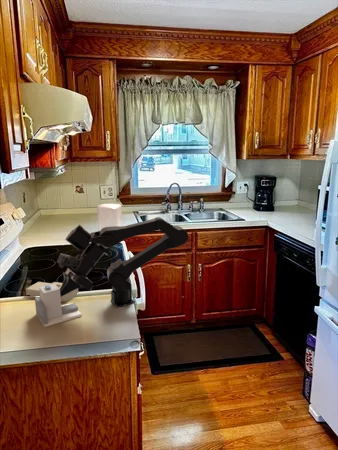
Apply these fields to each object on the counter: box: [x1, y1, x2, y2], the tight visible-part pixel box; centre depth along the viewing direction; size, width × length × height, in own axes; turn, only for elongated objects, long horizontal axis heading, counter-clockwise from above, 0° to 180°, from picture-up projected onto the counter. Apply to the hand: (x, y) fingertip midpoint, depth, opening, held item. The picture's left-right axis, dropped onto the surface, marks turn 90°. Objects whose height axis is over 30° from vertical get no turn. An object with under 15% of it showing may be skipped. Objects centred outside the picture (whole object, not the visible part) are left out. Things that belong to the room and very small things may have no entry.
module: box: [39, 283, 62, 319], centre depth 109 cm, size 5×6×10 cm
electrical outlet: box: [25, 281, 79, 302], centre depth 127 cm, size 7×4×18 cm
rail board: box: [34, 297, 82, 327], centre depth 111 cm, size 12×10×6 cm
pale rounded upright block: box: [96, 203, 123, 231], centre depth 208 cm, size 15×14×22 cm
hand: (58, 296), depth 111 cm, fingers closed, pressing on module
